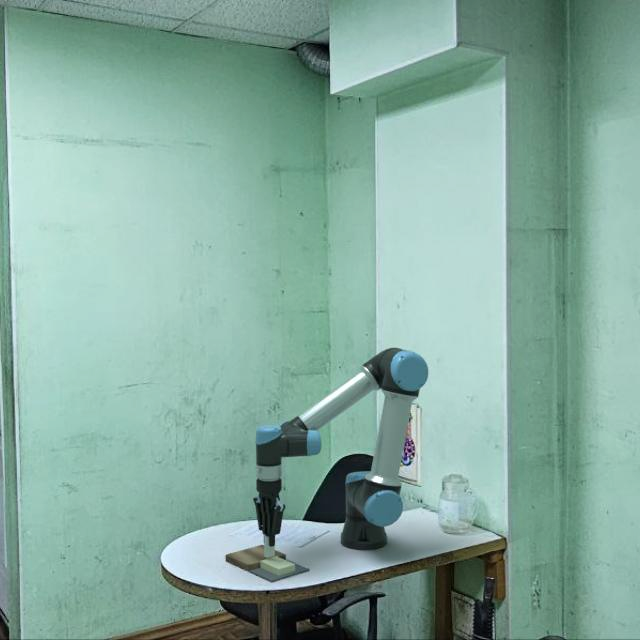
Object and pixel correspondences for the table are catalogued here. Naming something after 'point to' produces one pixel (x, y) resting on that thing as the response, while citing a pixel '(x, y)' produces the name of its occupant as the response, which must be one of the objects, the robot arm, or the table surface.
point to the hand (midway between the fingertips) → (269, 555)
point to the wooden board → (250, 557)
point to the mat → (274, 577)
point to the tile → (277, 566)
